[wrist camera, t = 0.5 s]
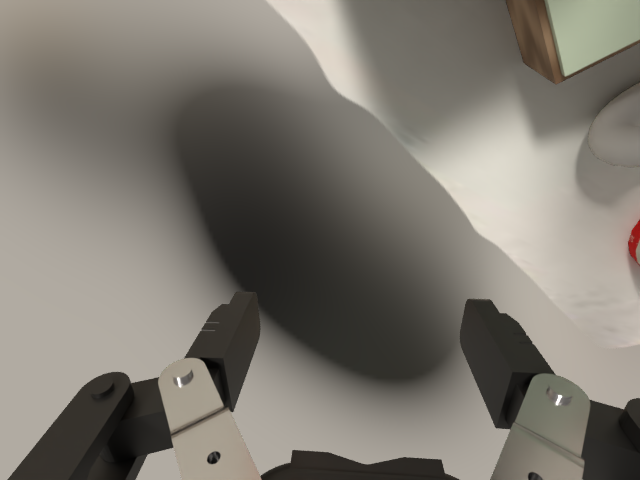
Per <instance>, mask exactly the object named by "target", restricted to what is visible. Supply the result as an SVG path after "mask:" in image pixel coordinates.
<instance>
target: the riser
mask: <svg viewBox="0 0 640 480" xmlns="http://www.w3.org/2000/svg"><path fill="white" fill-rule="evenodd" d="M506 3H507V6H508V10H509V13H510V17H511V20H512V24H513V27H514V31H515V34H516V38H517V41H518V44H519V48H520V51H521V55H522V58H523V62H524V63H525V64H526V65H528V66H529V67H531V68H532V69H534V70H535V71H537V72H538V73H539V74H541V75H542V76H544V77H545V78H547V79H548V80H550V81H551V82H553V83H554V84H558V83H560V82H562V81H564V80H566V79H568V78H570V77H572V76H574V75H576V74H578V73H580V72H582V71H584V70H586V69H588V68H590V67H592V66H594V65H596V64H598V63H600V62H602V61H604V60H606V59H608V58H610V57H612V56H614V55H616V54H618V53H620V52H622V51H624V50H626V49H628V48H630V47H632V46H634V45H636V44H638V43H640V0H506Z"/></svg>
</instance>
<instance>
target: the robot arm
mask: <svg viewBox="0 0 640 480" xmlns="http://www.w3.org/2000/svg"><path fill="white" fill-rule="evenodd" d="M259 336H260V318H259V310H258V301H257V295H256V293H255V292H236V293H235V294H234V296H233V298H232V300H231V301H230V304H222V305H220V306H219V307H218V308H217V309H215V310H214V311H213V312H212V313H211V315H210V316H209V318H208V319H207V321H206V323H205V325H204V326H203V328H202V331H200V333H199V334H198V336H197V338H196V339H195V341H194V343H193V345H192V346H191V348H190V349H189V351H188V353H187V354H186V356H185V358H184V359H181V360H178V361H176V362H174V363H172V364H170V365H169V366H168V367H166V368H165V369H164V370H163V372H162V373H161V375H160V377H158V378H154V379H149V380H144V381H140V382H135V383H131V382H130V379H129V377H128V376H127V375H126V374H124V373H121V372H111V373H107V374H103V375H101V376H98V377H96V378H94V379H93V380H91V381H90V382H88V383H87V384H86V385H84V387H82V388H81V390H80V391H79V392H78V393H77V395H76V396H75V397H74V398H73V399H72V401H71V402H70V403H69V404H68V405H67V407H66V408H65V409H64V410H63V412H62V413H61V414H60V415H59V417H58V418H57V419H56V420H55V422H54V423H53V424H52V425H51V427H50V428H49V429H48V430H47V431H46V433H45V434H44V435H43V436H42V438H41V439H40V440H39V441H38V443H37V444H36V445H35V447H34V448H33V449H32V450H31V451H30V453H29V454H28V455H27V456H26V457H25V459H24V460H23V461H22V462H21V464H20V465H19V466H18V467H17V469H16V470H15V471H14V472H13V474H12V475H11V476H10V477H9V479H8V480H135V479H136V477H137V475H138V473H139V471H140V469H141V467H142V465H143V463H144V461H145V459H146V457H147V455H148V454H150V453H154V452H158V451H162V450H166V449H169V448H174V451H175V455H176V459H177V463H178V466H179V470H180V474H181V478H182V480H459V479H457V478H455V477H453V476H451V475H448V474H445V473H444V468H443V464H442V460H438V459H422V458H406V457H403V458H398V459H393V460H389V461H384V462H379V463H374V464H369V465H366V464H361V463H358V462H355V461H352V460H349V459H346V458H343V457H340V456H337V455H334V454H332V453H328V452H314V451H298V450H293V451H292V458H291V463H287V464H284V465H281V466H278V467H275V468H273V469H271V470H269V471H268V472H266V473H264V474H263V475H261V476H260V475H259V472H258V471H257V468H256V466H255V464H254V462H253V460H252V457H251V455H250V453H249V451H248V449H247V446H246V444H245V442H244V440H243V438H242V436H241V434H240V431H239V429H238V427H237V425H236V422H235V420H234V418H233V416H232V414H231V412H233V411H234V408H235V405H236V403H237V400H238V397H239V394H240V391H241V389H242V386H243V383H244V380H245V377H246V374H247V372H248V369H249V366H250V363H251V360H252V357H253V354H254V351H255V349H256V346H257V343H258V340H259ZM460 343H461V347H462V350H463V353H464V355H465V357H466V360H467V362H468V364H469V367H470V369H471V371H472V374H473V376H474V378H475V381H476V383H477V385H478V387H479V390H480V392H481V395H482V397H483V399H484V402H485V404H486V406H487V408H488V411H489V413H490V415H491V418H492V420H493V423H494V425H495V427H496V428H502V429H510V432H509V434H508V437H507V440H506V442H505V444H504V447H503V449H502V452H501V454H500V457H499V459H498V462H497V464H496V467H495V469H494V472H493V474H492V476H491V479H490V480H582V479H583V480H640V398H636V399H632V400H630V401H629V402H628V403H627V405H626V407H625V409H620V408H617V407H613V406H609V405H606V404H602V403H599V402H595V401H592V400H589V398H588V396H587V395H586V394H585V392H584V391H583V390H582V389H581V388H580V387H578V386H577V385H576V384H574V383H573V382H571V381H569V380H567V379H565V378H563V377H561V376H557V375H555V373H554V372H553V371H552V369H551V368H550V366H549V365H548V363H547V362H546V361H545V359H544V358H543V357H542V355H541V354H540V352H539V351H538V349H537V348H536V347H535V345H533V344H532V341H531V340H530V338H529V337H528V336H526V333H525V331H524V330H523V328H522V327H521V326H520V325H519V323H518V322H517V321H515V320H514V319H513V318H511V317H510V316H508V315H507V314H506V313H505V314H504V313H499V311H498V310H497V308H496V307H495V305H494V304H493V302H492V301H491V300H490V299H468V300H467V301H466V304H465V310H464V315H463V320H462V325H461V330H460Z"/></svg>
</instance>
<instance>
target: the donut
mask: <svg viewBox="0 0 640 480" xmlns="http://www.w3.org/2000/svg"><path fill="white" fill-rule="evenodd" d="M588 144H589V147H590V149H591V150H592V152H593V154H594V155H595V156H596V157H597V158H599V159H601V160H603V161H605V162H607V163H609V164H611V165H616V166H624V167H640V83H638V84H636V85H634V86H632V87H631V88H629V89H627V90H625V91H624V92H623V93H621V94H620V95H618V96H617V97H616V98H614V99H613V100H611V101H610V102H609V103H608V104H607V105H606V106H605V107H604V108H603V109H602V110H601V111H600V112H599V113H598V115H597V116H596V118H595V120H594V121H593V123H592V124H591V126H590V129H589V136H588Z"/></svg>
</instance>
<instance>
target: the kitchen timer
mask: <svg viewBox="0 0 640 480" xmlns="http://www.w3.org/2000/svg"><path fill="white" fill-rule="evenodd" d="M628 245H629V252H630V254H631V256H632V257H633V258H634V259H635V261H636V262H637V263H638V264H639V265H640V220H639V221H638V223H637V224H636V225H635V227H634V228H633V230H632V232H631V235H630V238H629V242H628Z"/></svg>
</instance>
